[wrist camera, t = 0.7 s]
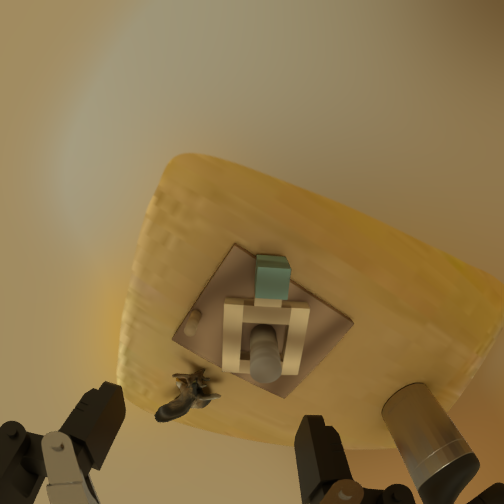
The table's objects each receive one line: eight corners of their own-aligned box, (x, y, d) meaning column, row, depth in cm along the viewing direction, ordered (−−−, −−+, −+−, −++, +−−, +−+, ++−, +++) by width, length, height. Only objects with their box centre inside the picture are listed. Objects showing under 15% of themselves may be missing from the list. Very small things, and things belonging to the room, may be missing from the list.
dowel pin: (203, 313, 31) (197, 330, 27) (198, 320, 31) (191, 338, 27) (194, 307, 30) (187, 324, 26) (189, 315, 31) (181, 332, 27)
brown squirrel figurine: (161, 355, 32) (145, 404, 32) (183, 391, 27) (163, 440, 27) (210, 360, 37) (190, 405, 37) (236, 390, 31) (213, 436, 32)
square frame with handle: (295, 366, 32) (300, 388, 28) (223, 363, 32) (219, 385, 28) (313, 258, 29) (323, 271, 25) (227, 252, 29) (223, 264, 25)
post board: (351, 319, 32) (375, 355, 24) (283, 392, 35) (289, 436, 27) (235, 242, 30) (229, 264, 22) (174, 334, 33) (155, 374, 25)
